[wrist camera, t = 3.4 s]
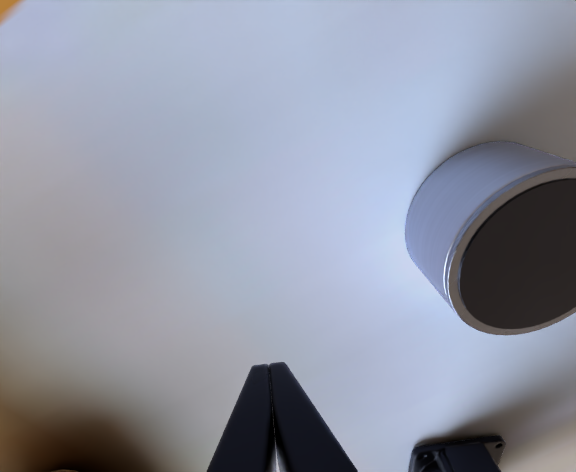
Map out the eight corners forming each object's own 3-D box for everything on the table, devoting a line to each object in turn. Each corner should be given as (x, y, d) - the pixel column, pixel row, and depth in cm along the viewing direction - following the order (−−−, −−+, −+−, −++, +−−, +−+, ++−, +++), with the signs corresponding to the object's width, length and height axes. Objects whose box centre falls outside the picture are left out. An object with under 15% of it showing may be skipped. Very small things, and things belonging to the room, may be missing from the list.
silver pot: (529, 274, 19) (597, 326, 15) (397, 288, 18) (435, 346, 15) (572, 135, 16) (673, 159, 12) (414, 146, 15) (468, 175, 11)
